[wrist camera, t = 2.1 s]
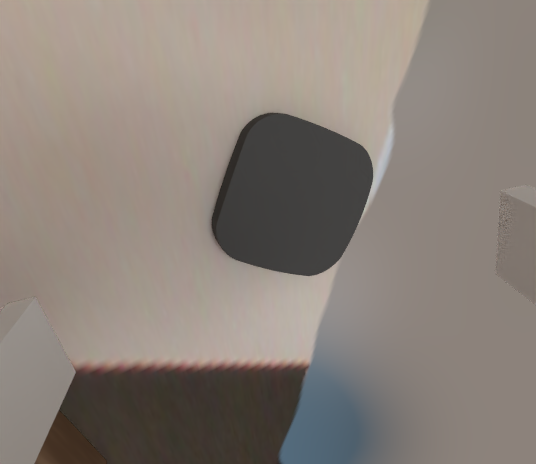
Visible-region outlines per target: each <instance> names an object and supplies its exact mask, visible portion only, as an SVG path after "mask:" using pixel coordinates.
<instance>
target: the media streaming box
mask: <svg viewBox="0 0 536 464" xmlns="http://www.w3.org/2000/svg"><path fill="white" fill-rule="evenodd" d="M372 181H373V167H372V162H371V159H370V157H369V154H368V153H367V151H366V150H365V149H364V147H363V146H361V145H360V144H358V143H356V142H354V141H352V140H350V139H348V138H346V137H344V136H342V135H340V134H338V133H335V132H333V131H331V130H328V129H326V128H324V127H321V126H319V125H316V124H313V123H311V122H308V121H305V120H302V119H299V118H297V117H294V116H290V115H287V114H281V113H267V114H263V115H260V116H258V117H256V118H255V119H253V120H252V121H250V122H249V123H248V124H247V125H246V126H245V128H244V129H243V130H242V132H241V134H240V136H239V139H238V141H237V144H236V146H235V149H234V152H233V154H232V157H231V160H230V162H229V165H228V168H227V171H226V174H225V177H224V180H223V183H222V186H221V189H220V193H219V196H218V199H217V203H216V206H215V210H214V213H213V217H212V229H213V233H214V236H215V238H216V239H217V241H218V243H219V244H220V246H221V247H222V249H223V250H224V251H225V252H226V253H227V254H228V255H229V256H230V257H232V258H234V259H235V260H238V261H241V262H244V263H248V264H251V265H254V266H258V267H262V268H265V269H270V270H274V271H279V272H284V273H289V274H296V275H304V276H312V275H316V274H319V273H322V272H324V271H326V270H327V269H329V268H330V267H332V266H333V265H334V264H335V263H336V262H337V261H338V260H339V259H340V258H341V256H342V255H343V253H344V251H345V249H346V248H347V246H348V244H349V242H350V240H351V238H352V236H353V234H354V232H355V230H356V227H357V225H358V223H359V220H360V218H361V215H362V213H363V210H364V207H365V205H366V202H367V199H368V196H369V192H370V189H371V185H372Z"/></svg>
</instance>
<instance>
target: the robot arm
mask: <svg viewBox="0 0 536 464" xmlns="http://www.w3.org/2000/svg"><path fill="white" fill-rule="evenodd" d="M495 274H496V275H497V276H499V277H500V278H501V279H503V280H504V281H505V282H506V283H508V284H509V285H510V286H512V287H513V288H514V289H515V290H517V291H518V292H519V293H521V294H522V295H523V296H524V297H526V298H527V299H528V300H529V301H531V302H532V303H533V304H535V305H536V188H533V187H531V186H528V185H524V186H519V187H515V188H511V189H506V190H502V191H500V205H499V221H498V238H497V254H496V271H495ZM75 373H76V371H75V369H74V367H73V366H72V364H71V362H70V360H69V358H68V356H67V354H66V352H65V351H64V349H63V347H62V345H61V343H60V341H59V339H58V338H57V336H56V334H55V332H54V330H53V328H52V326H51V324H50V323H49V321H48V319H47V317H46V315H45V313H44V311H43V310H42V308H41V306H40V304H39V302H38V300H37V298H36V297H33V298H28V299H24V300H19V301H15V302H11V303H7V305H6V306H5V307H4V308H3V309H2V310H1V312H0V464H34V463H35V461H36V459H37V457H38V454H39V452H40V450H41V448H42V446H43V443H44V441H45V439H46V437H47V435H48V432H49V430H50V428H51V426H52V424H53V421H54V419H55V417H56V415H57V413H58V410H59V408H60V406H61V404H62V402H63V399H64V397H65V395H66V393H67V391H68V388H69V386H70V384H71V382H72V379H73V377H74V375H75Z"/></svg>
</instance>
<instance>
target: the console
mask: <svg viewBox="0 0 536 464" xmlns="http://www.w3.org/2000/svg"><path fill="white" fill-rule="evenodd" d="M34 464H107V461H106V460H105V459H104V458H103V456H102V455H101V454H100V453H99V452H98V451H97V450H96V449H95V448H94V447H93V446H92V445H91V444H90V443H89V442H88V440H87V439H86V438H85V437H84V436H83V435H82V434H81V433H80V432H79V431H78V430H77V429H76V428H75V427H74V426H73V424H72V423H71V422H70V421H69V420H68V419H67V418H66V417H65V416H64V415H63V414H62V413H61V412H60V411H59V410H58V413H57V415H56V417H55V419H54V421H53V424H52V426H51V428H50V430H49V432H48V435H47V437H46V439H45V441H44V443H43V446H42V448H41V450H40V452H39V454H38V457H37V459H36V461H35V463H34Z"/></svg>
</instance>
